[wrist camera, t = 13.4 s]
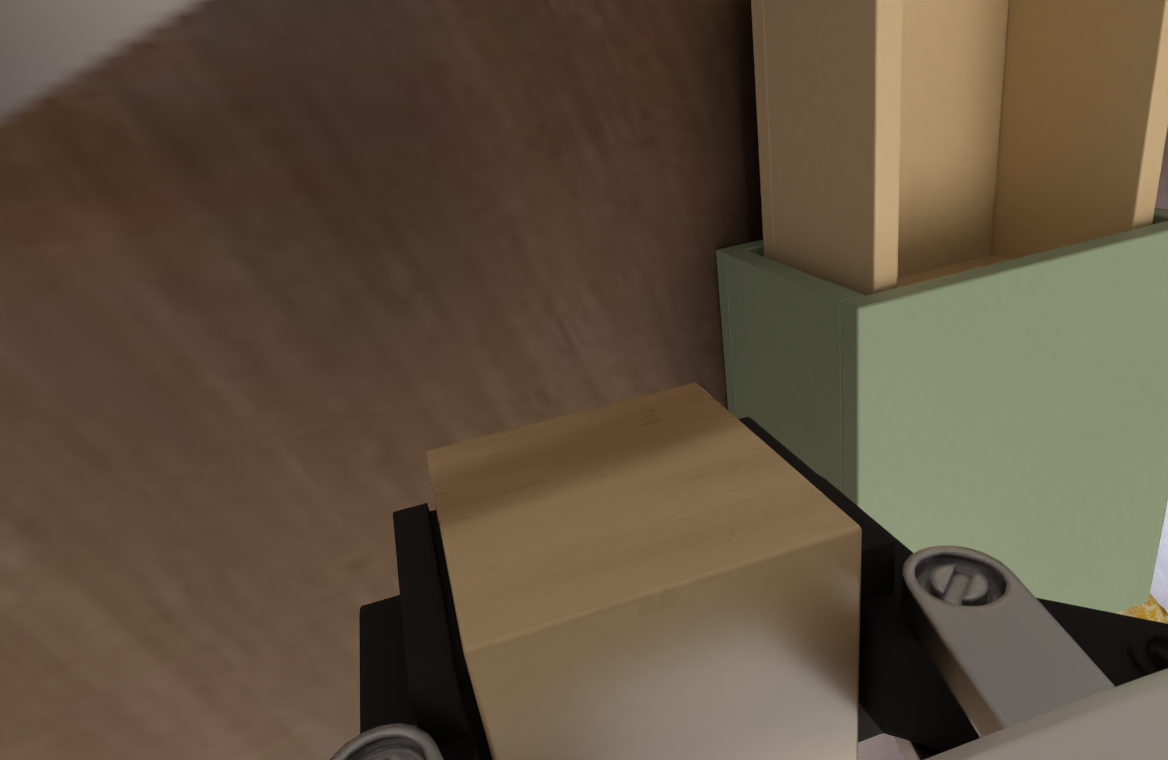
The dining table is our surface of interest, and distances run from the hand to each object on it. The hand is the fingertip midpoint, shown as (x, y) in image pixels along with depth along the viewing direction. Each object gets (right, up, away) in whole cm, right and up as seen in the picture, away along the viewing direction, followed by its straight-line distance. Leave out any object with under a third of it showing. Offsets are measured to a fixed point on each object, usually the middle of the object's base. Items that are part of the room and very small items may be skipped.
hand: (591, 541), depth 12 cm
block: (0, 0, 0) cm, 0 cm away
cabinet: (+12, +2, +19) cm, 23 cm away
